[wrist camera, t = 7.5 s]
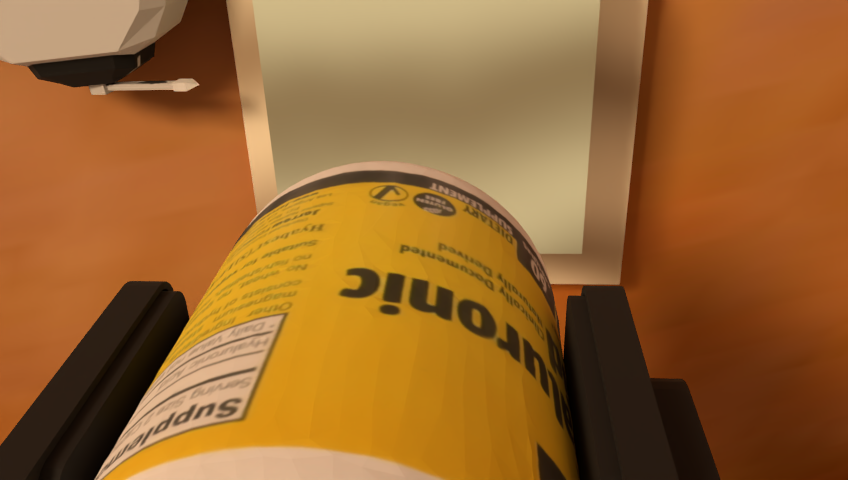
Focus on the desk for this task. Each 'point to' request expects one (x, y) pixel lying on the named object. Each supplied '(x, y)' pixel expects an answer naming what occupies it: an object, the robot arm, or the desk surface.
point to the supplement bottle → (365, 345)
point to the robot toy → (88, 40)
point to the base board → (456, 105)
